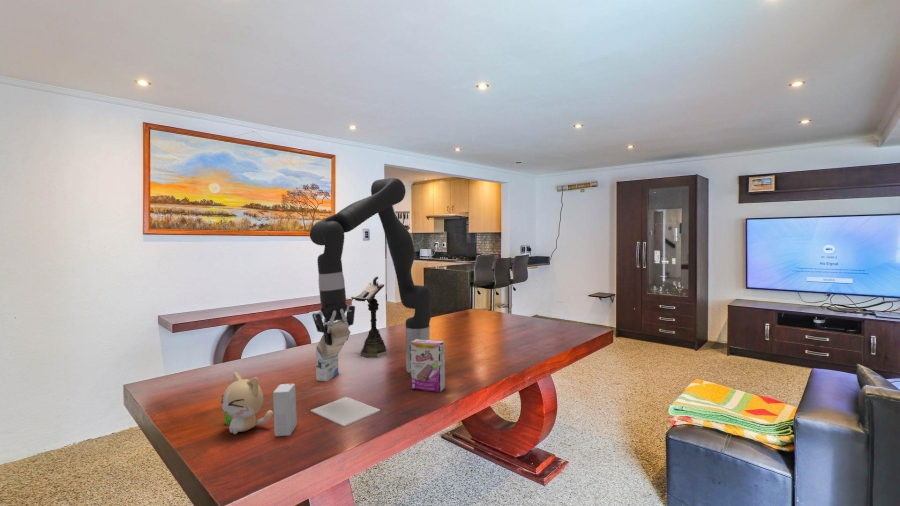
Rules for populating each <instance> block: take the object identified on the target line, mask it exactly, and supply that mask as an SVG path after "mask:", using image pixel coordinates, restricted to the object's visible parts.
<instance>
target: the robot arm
mask: <svg viewBox="0 0 900 506" xmlns="http://www.w3.org/2000/svg"><path fill="white" fill-rule="evenodd" d="M406 192H407V191H406V186H405V184H404V182H403V181H402V180H401V179H399V178H395V177H391V178H383V179H382V178H381V179H378V180H377V179H376V180H374V181H373V182H372V184H371V188H370V193H371V195H370V196H367V197H365V198H362V199H359V200H357V201H355V202H352V203H351V204H349V205H347V206H346V207H344V208H342V209H341V210H339V211H338V212H337V213H335V214H333V215H330V216H328V217H325V218H323V219H321V220H320V221H317V222H316V223H315V224H313V225H312V227H311V229H310V231H309V238H310V240H311V241H312V243H313V244H315V245H317V246H324V250H323V253H320V254H319V255H318V257H317V271H318V289H319V300H320V302H319V303H320V306H321V309H320V311H318V312H316V313H315V312H313V313H312V316H311V317H312V319H313V321H314V324H315V328H316V330H317V331H316V332H318V333H321V334H322V333H323V334H324V339H325V343H326V344H327V345H329V346H330V345H332V336H331V333H330V332H331V327H332V326H333V323H334V322H337V321H342V322H343V323H345V324H346V326H347V327H348V329H350V328H349V327H350V326H353V325H354V321H355V312H356V306H355V305H348V304H347V303H346V301H347V295H346V294H347V292H346V286H345V285H346V284H345V277H344V273H343V263H342V257H343V250H344V244H345V234H346V233H349V232H351V231H353V230H355V229H356V228H357V227H359V225H362V224H363V223H364V222H366V221H367V220H369V219H370V218H371V217H373V216H375V215H377V214H378V218H379V219H380V223H381V225H382V229H383V233H384V236H385V239H386V243H387V248H388V251H389V254H390V257H391V260H392V264H393V267H394V271H395V276H396V280H397V286H398V287H397V288H398V293H399V298H400V301H401V304H402V305H403V307H404V308H407V309H412V310H414V314H413V316H412V317H408V318H407V319H406V320H405V357H406V358H405V363H406V365H405V367H406V372H407V373H409V374H411V370H410V342H411V341H413V340H415V339H421V340H431V339H430V335H431V334H430V333H431V332H430V322H431V319H432V303H433V301H432V291H431V289H430V288H429V287H428V286H426V285H418V284H417V285H416V284H415V283H414V281H413V276H412V267H413V264H414V260H415V257H416V249H415V245H414V242H413V238H412V235H411V233H410V232H409V230H408V228H406V226H405V225H404V224H403V223H402V222H401V221H400V220H399V218H398V216H397V215H396V213H395V209H394V205H398V204H400V203H401V202H402V201H403V200H404V199H405V197H406ZM345 313H346V314H345ZM323 317H324V318H323ZM349 338H350V335H349V336H348V338H347V340H346V342H347V341H348V340H349Z"/></svg>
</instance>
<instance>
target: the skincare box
mask: <svg viewBox="0 0 900 506" xmlns="http://www.w3.org/2000/svg"><path fill="white" fill-rule="evenodd" d="M272 399H273V400H272V401H273V403H272V404H273V424H274V425H273V426H274V428H273V429H274V430H273V431H274V437H283V436H287V437H288V436H291V435H292V433H293V431H294V430H295V429H296V427H297V425H298V424H297V401H296V399H297V397H296V384H295V383H283V384H282V383H280V384H279V385H278V386H277V387H276V389H274V391H273V392H272Z"/></svg>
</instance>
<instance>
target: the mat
mask: <svg viewBox="0 0 900 506" xmlns="http://www.w3.org/2000/svg"><path fill="white" fill-rule="evenodd" d="M380 411H381V409H379V408H377V407H374V406H371V405H368V404H366V403H364V402H360V401H359V400H356V399H354V398H350V397H347V396H344V397H341V398H339V399H336V400H334V401H332V402H329V403H326V404H324V405H321V406H318V407H315V408H312V409H310V413H313V414H316V415H317V416H320V417H322V418H324V419H326V420H329V421H330V422H333V423H335V424H336V425H339V426H342V427H344V428H345V427H347V426H349V425H352V424H354V423H357V422H358V421H359V422H360V420H363V419H366V418H368V417H370V416H372V415H374V414H376V413H379V412H380Z"/></svg>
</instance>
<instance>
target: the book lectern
mask: <svg viewBox="0 0 900 506" xmlns="http://www.w3.org/2000/svg"><path fill="white" fill-rule="evenodd" d="M377 280H379V276H374V278H373V279H372V282H368V283H367V284H366V285H365V286H364V288H363V289H362V290H361V291H359V293H357V295H355V296H351V297H350V298H351V300H350V302H353V300H354V301H358V302H365V301H367V303H368V304H367V306H368V311H370V320H369V321H370V330H369V331H368V335H367V337H366V339H365V341H363V346H362V349H361V350H360V356H361V357H364V358H373V359H374V358H380V357H384V356H387V354H388V348H387V346H386V344H385V340H384V339H383V337H382V336H381V334H380V330H379V329H378V328H377V320H378V319H377V311H378V310H379V305H380V304H379V301H378V300H377V298H376V295H377V294H378V293H379V292H380V291H381V290H382V289H383V288H384V286H385V283H379V281H377Z"/></svg>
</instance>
